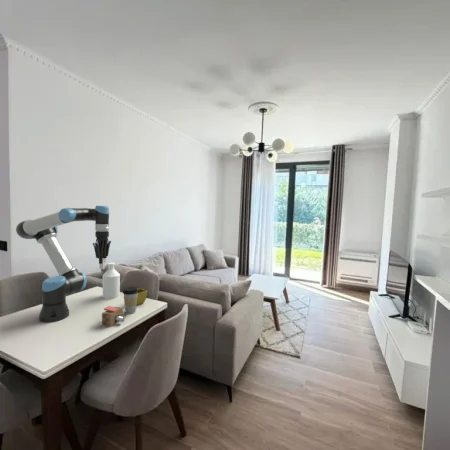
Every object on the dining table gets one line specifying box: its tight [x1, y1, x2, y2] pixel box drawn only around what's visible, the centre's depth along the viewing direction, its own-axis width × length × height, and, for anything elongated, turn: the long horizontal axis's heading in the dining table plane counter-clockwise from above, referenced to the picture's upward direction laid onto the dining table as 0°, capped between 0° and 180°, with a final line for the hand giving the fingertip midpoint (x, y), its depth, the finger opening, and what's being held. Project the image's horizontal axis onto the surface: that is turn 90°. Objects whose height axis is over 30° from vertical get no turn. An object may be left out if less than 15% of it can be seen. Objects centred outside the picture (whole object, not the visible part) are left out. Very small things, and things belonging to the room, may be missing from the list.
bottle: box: [102, 262, 121, 300], centre depth 190 cm, size 12×12×25 cm
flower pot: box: [136, 288, 148, 306], centre depth 178 cm, size 9×9×9 cm
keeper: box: [103, 305, 119, 312], centre depth 149 cm, size 7×4×1 cm, turn 74°
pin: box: [115, 316, 125, 323], centre depth 148 cm, size 11×4×4 cm, turn 74°
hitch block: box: [101, 306, 124, 327], centre depth 149 cm, size 6×10×7 cm, turn 164°
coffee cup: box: [122, 286, 139, 315], centre depth 164 cm, size 9×9×15 cm
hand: (102, 268), depth 159 cm, fingers closed
